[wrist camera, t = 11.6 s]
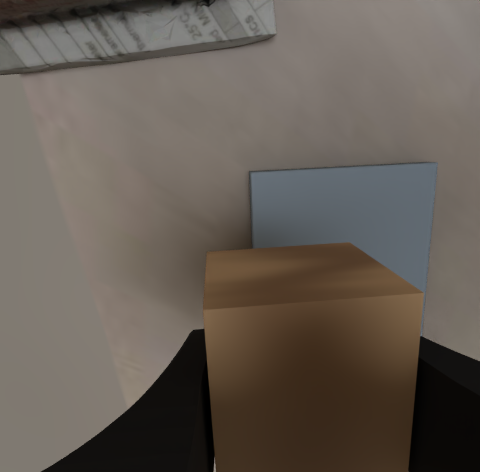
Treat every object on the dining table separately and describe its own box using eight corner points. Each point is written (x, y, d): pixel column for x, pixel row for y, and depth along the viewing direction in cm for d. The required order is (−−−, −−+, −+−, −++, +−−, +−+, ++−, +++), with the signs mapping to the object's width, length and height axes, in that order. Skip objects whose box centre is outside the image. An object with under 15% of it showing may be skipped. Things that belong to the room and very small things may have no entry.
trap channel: (426, 162, 19) (456, 164, 17) (397, 507, 26) (416, 544, 23) (249, 171, 19) (254, 174, 16) (263, 522, 25) (268, 562, 23)
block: (349, 242, 11) (424, 292, 7) (344, 403, 12) (404, 518, 9) (206, 251, 11) (202, 310, 7) (218, 415, 12) (221, 539, 8)
